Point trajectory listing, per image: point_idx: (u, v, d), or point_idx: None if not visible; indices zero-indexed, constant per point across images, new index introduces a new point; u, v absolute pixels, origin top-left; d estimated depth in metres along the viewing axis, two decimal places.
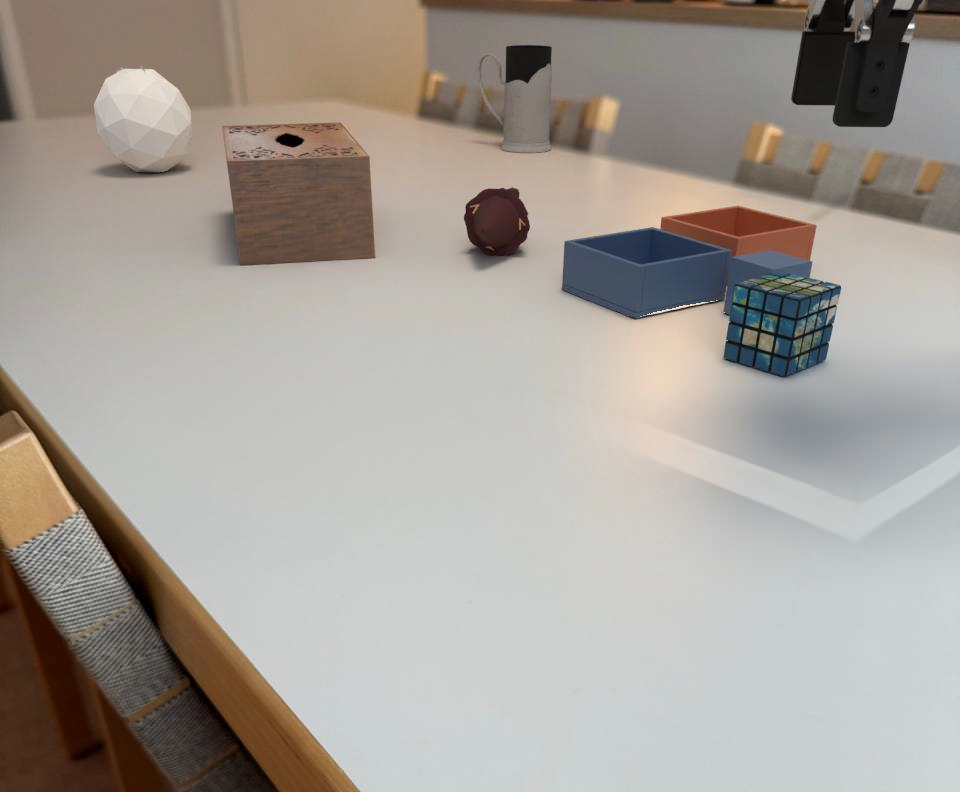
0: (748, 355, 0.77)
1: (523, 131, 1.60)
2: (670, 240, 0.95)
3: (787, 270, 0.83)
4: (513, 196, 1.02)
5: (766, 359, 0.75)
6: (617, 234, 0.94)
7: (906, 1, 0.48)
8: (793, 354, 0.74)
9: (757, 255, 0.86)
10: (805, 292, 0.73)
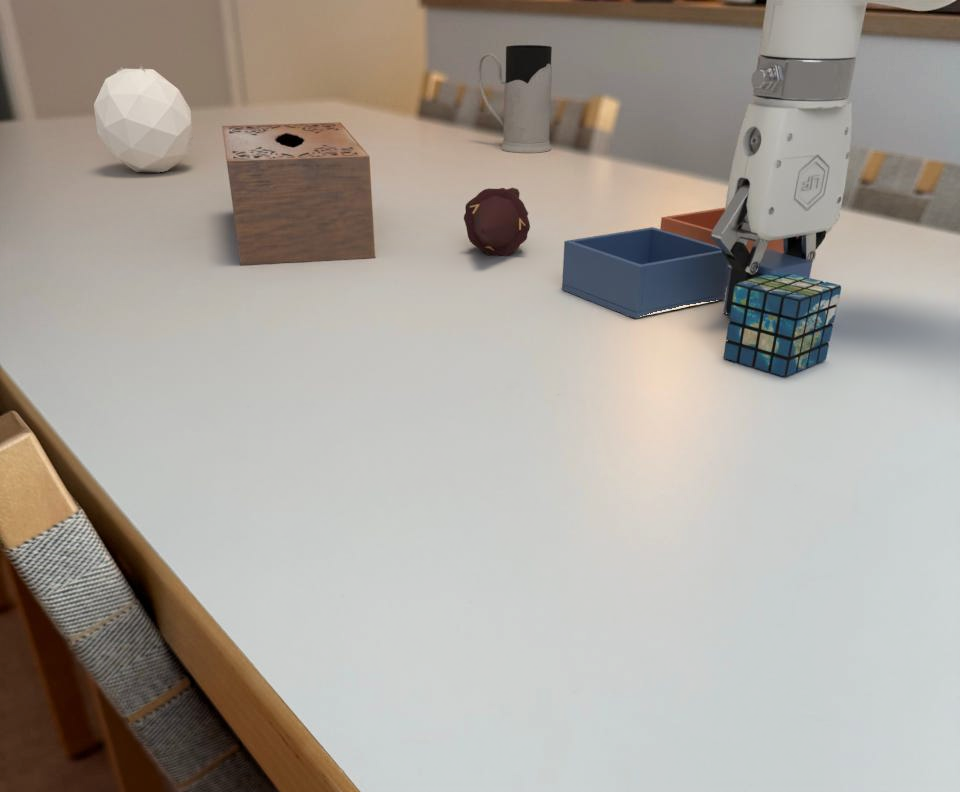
0: (748, 355, 0.77)
1: (523, 131, 1.60)
2: (670, 240, 0.95)
3: (787, 270, 0.83)
4: (513, 196, 1.02)
5: (766, 359, 0.75)
6: (617, 234, 0.94)
7: (729, 254, 0.82)
8: (793, 354, 0.74)
9: None
10: (805, 292, 0.73)
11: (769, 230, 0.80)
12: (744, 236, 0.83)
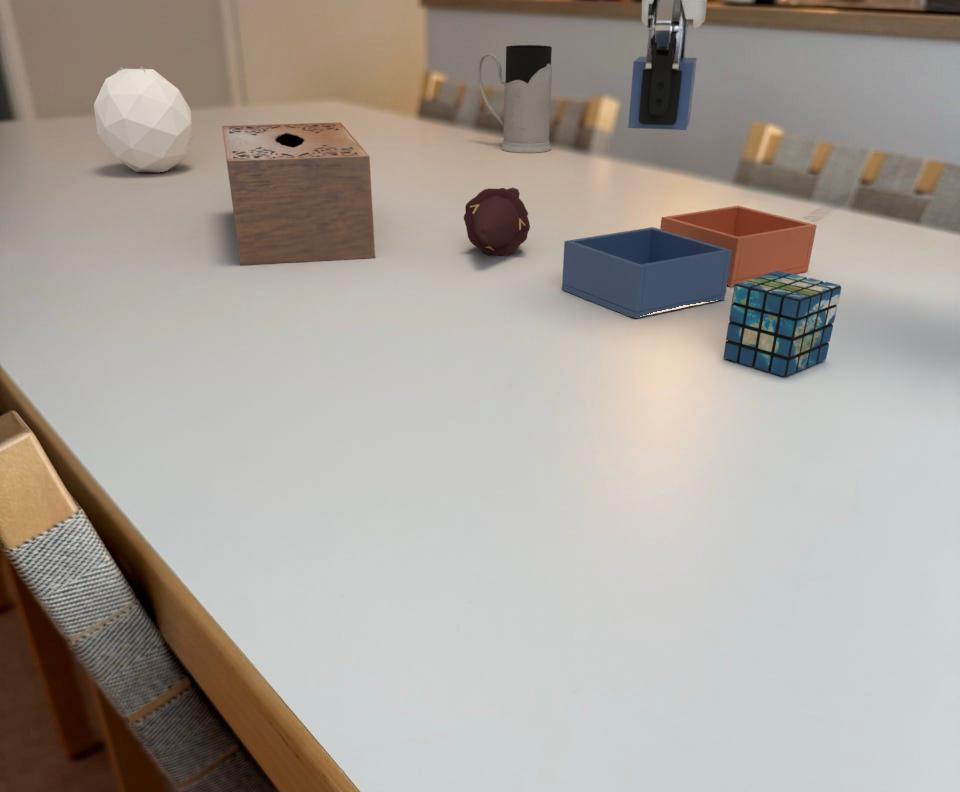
0: (748, 355, 0.77)
1: (523, 131, 1.60)
2: (670, 240, 0.95)
3: (694, 65, 0.81)
4: (513, 196, 1.02)
5: (766, 359, 0.75)
6: (617, 234, 0.94)
7: (663, 48, 0.77)
8: (793, 354, 0.74)
9: None
10: (805, 292, 0.73)
11: (701, 15, 0.76)
12: None
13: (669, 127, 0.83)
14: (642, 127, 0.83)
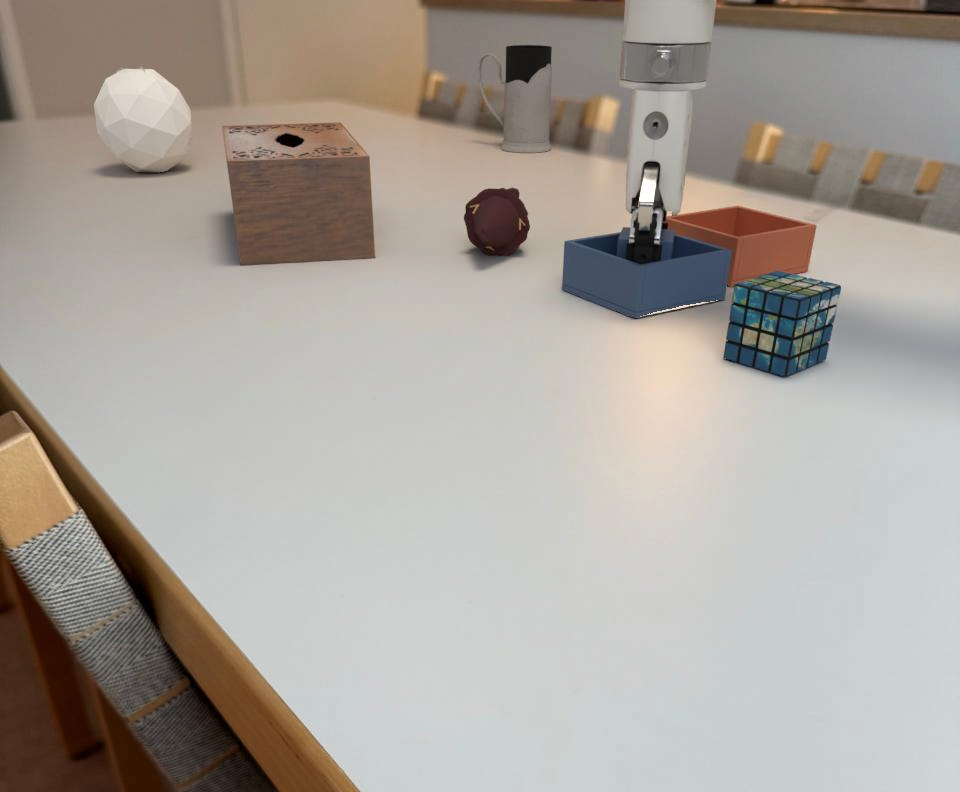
0: (748, 355, 0.77)
1: (523, 131, 1.60)
2: None
3: None
4: (513, 196, 1.02)
5: (766, 359, 0.75)
6: (617, 234, 0.94)
7: (645, 228, 0.83)
8: (793, 354, 0.74)
9: (629, 233, 0.90)
10: (805, 292, 0.73)
11: (679, 206, 0.85)
12: None
13: None
14: None
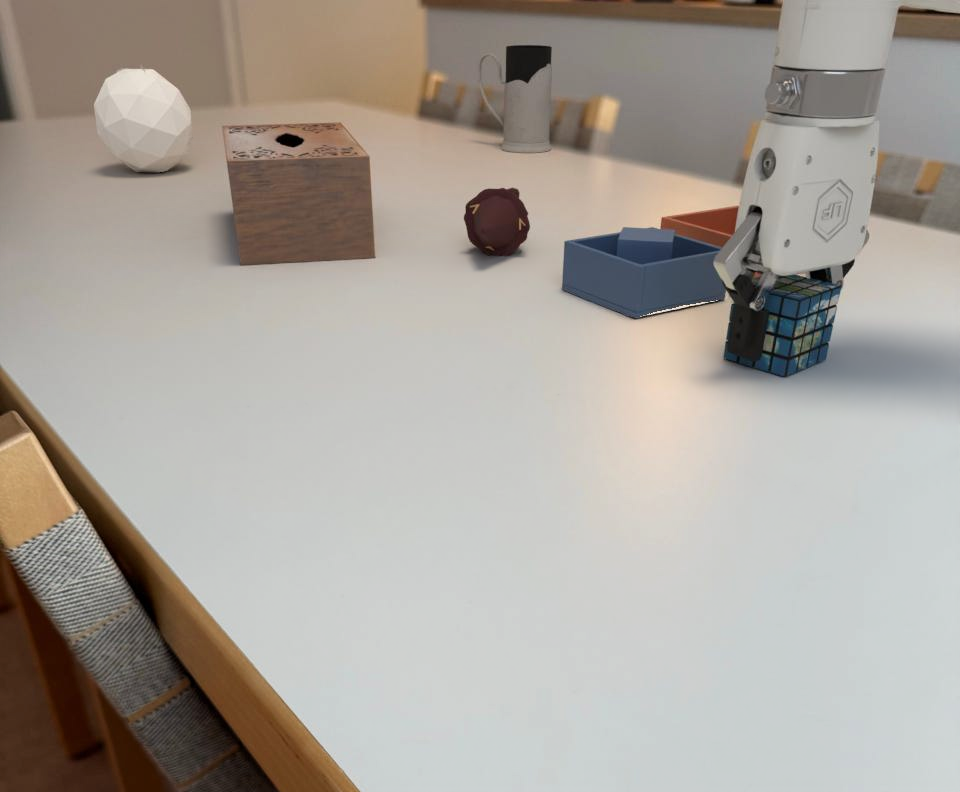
0: None
1: (523, 131, 1.60)
2: None
3: None
4: (513, 196, 1.02)
5: (766, 359, 0.75)
6: (617, 234, 0.94)
7: (730, 287, 0.72)
8: (793, 354, 0.74)
9: (629, 233, 0.90)
10: (805, 292, 0.73)
11: (784, 265, 0.70)
12: (751, 267, 0.72)
13: None
14: None
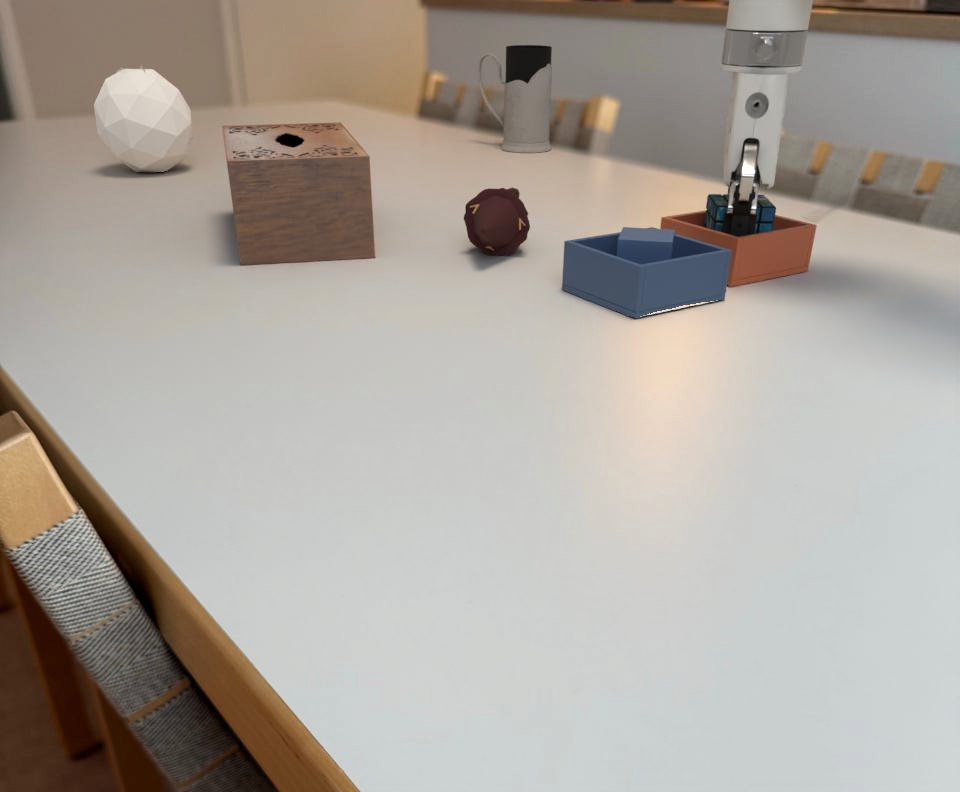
0: None
1: (523, 131, 1.60)
2: None
3: None
4: (513, 196, 1.02)
5: None
6: (617, 234, 0.94)
7: (744, 198, 0.92)
8: None
9: (629, 233, 0.90)
10: (763, 202, 0.97)
11: (774, 179, 0.93)
12: None
13: None
14: None
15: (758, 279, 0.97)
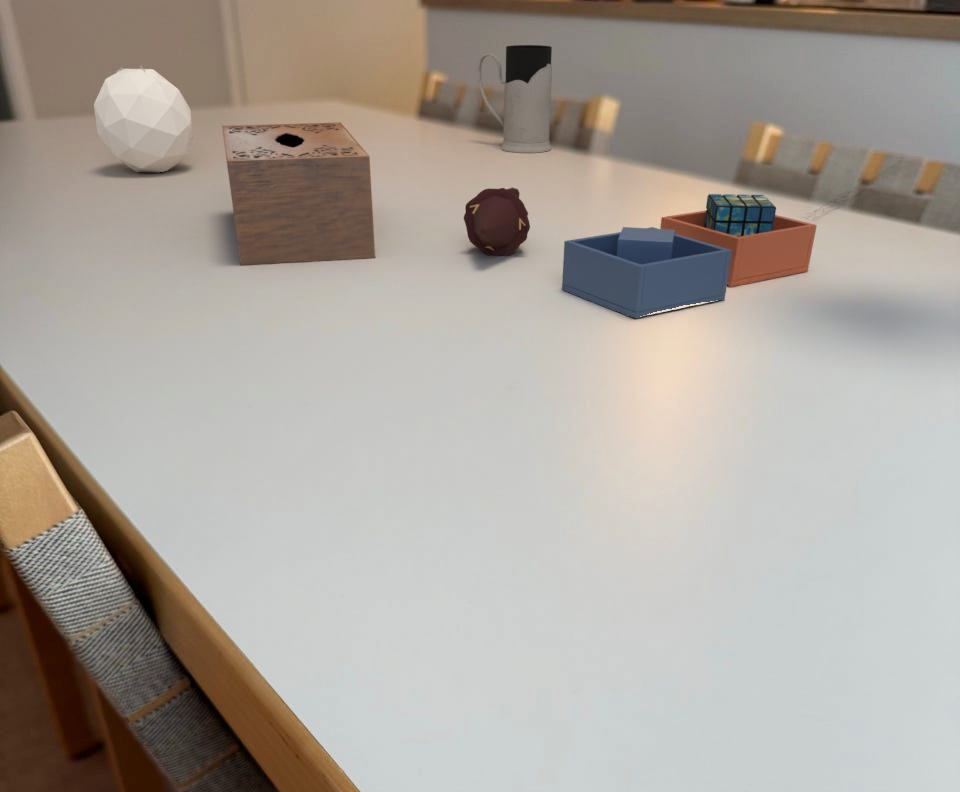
0: None
1: (523, 131, 1.60)
2: None
3: None
4: (513, 196, 1.02)
5: None
6: (617, 234, 0.94)
7: None
8: None
9: (629, 233, 0.90)
10: (763, 202, 0.97)
11: None
12: None
13: None
14: None
15: (758, 279, 0.97)
